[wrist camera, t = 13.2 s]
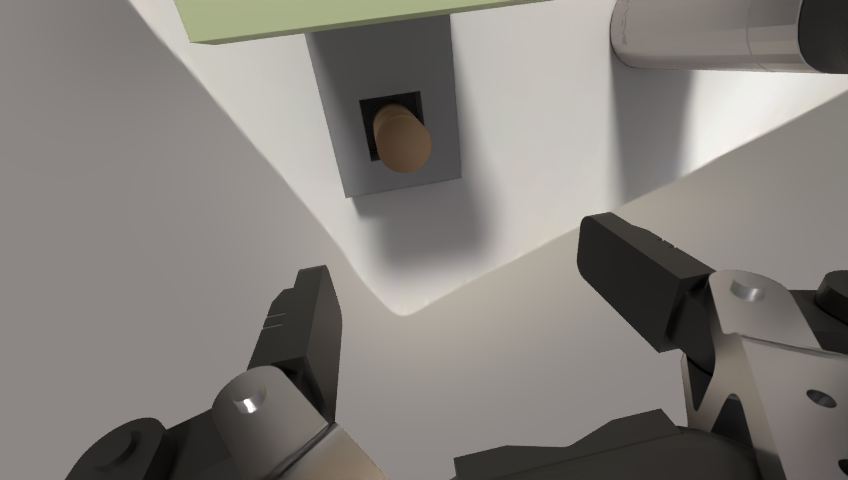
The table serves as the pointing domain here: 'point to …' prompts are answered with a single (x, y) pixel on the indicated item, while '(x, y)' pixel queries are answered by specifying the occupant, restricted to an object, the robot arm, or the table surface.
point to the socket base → (360, 69)
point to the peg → (400, 137)
